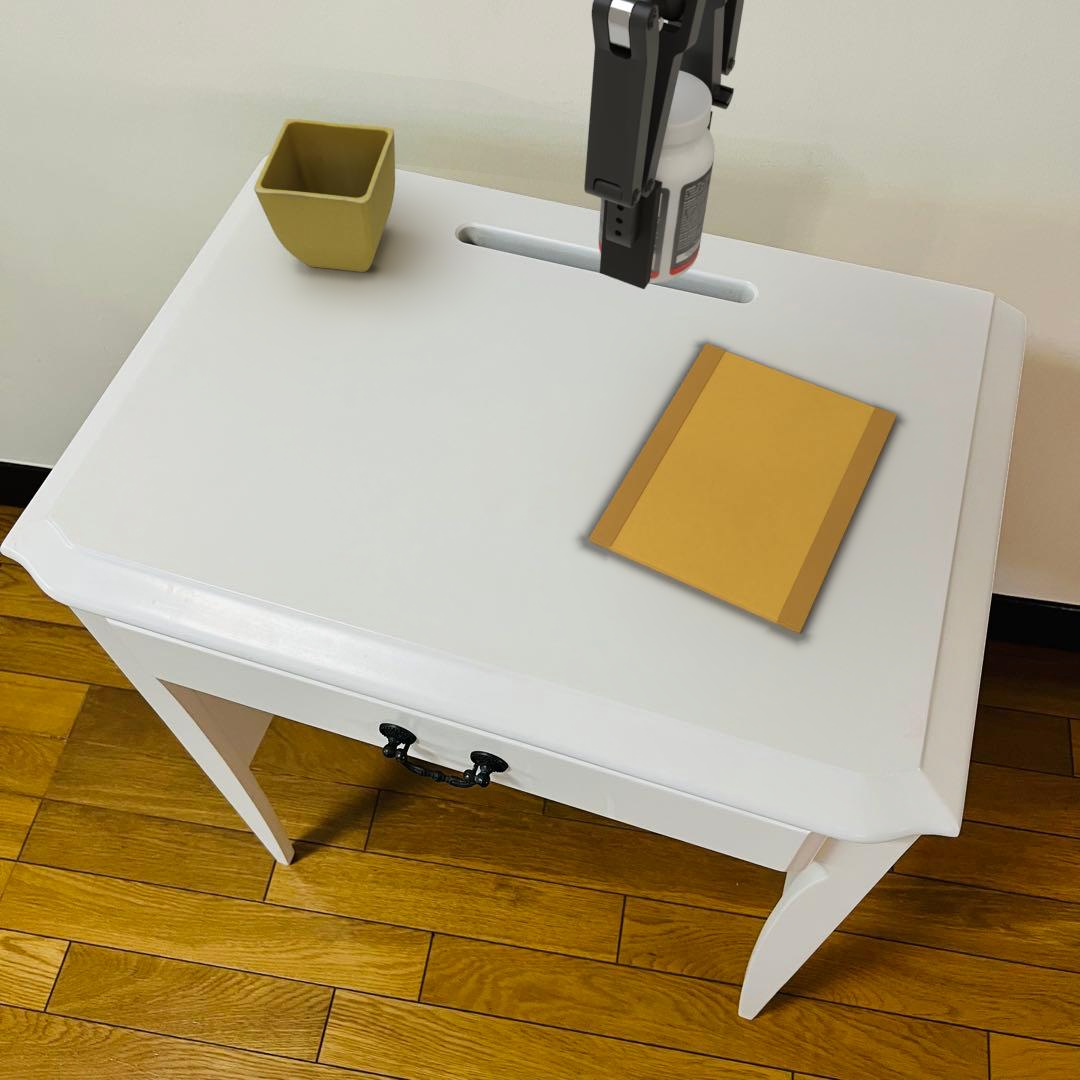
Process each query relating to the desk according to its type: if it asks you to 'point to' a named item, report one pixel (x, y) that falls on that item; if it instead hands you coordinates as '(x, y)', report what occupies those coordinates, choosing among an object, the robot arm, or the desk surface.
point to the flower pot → (329, 191)
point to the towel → (747, 485)
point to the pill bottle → (681, 180)
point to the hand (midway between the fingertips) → (649, 240)
